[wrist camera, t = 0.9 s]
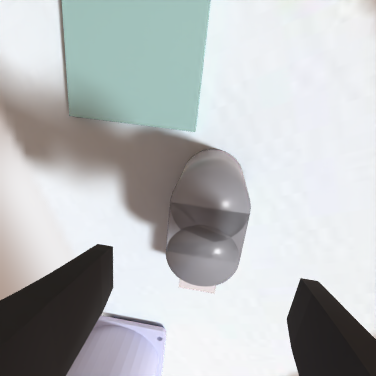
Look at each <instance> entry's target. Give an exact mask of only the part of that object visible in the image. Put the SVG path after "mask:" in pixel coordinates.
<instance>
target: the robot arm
mask: <svg viewBox="0 0 376 376" xmlns="http://www.w3.org/2000/svg"><path fill="white" fill-rule="evenodd" d="M112 289H113V247H112V246H106V245H100V244H97V245H95V246H94V247H92V248H90V249H89V250H87V251H86V252H84V253H82V254H81V255H79V256H78V257H76V258H74V259H73V260H71V261H70V262H68V263H66V264H65V265H63V266H62V267H60V268H58V269H56V270H55V271H53V272H52V273H50V274H48V275H46V276H45V277H43V278H41V279H39V280H38V281H36V282H34V283H32V284H30V285H29V286H27V287H25V288H23V289H21V290H20V291H18V292H16V293H14V294H12V295H10V296H8V297H6V298H4V299H2V300H0V376H162V369H163V360H164V350H165V340H166V330H165V329H164V328H163V327H159V326H154V325H148V324H143V323H138V322H133V321H127V320H122V319H117V318H112V317H106V316H101V314H102V312H103V310H104V307H105V305H106V303H107V301H108V298H109V296H110V294H111V291H112ZM287 324H288V331H289V337H290V343H291V348H292V352H293V356H294V359H295V363H296V366H297V370H298V373H299V376H376V339H375V338H374V337H373V336H372V335H371V334H370V333H369V332H368V331H367V330H366V329H365V328H364V327H363V326H362V325H361V324H360V323H359V322H358V321H357V320H356V319H355V318H354V317H353V316H352V315H351V314H350V313H349V312H348V311H347V310H346V309H345V308H344V307H343V306H342V305H341V304H340V303H339V302H338V301H337V300H336V299H335V298H334V297H333V296H332V295H331V294H330V293H329V292H328V291H327V290H326V289H325V288H324V287H323V286H322V285H321V284H320V283H319V282H318V281H314V280H308V279H302V278H301V279H300V282H299V285H298V288H297V291H296V293H295V296H294V299H293V302H292V305H291V308H290V311H289V314H288V317H287Z"/></svg>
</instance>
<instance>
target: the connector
mask: <svg viewBox="0 0 376 376" xmlns="http://www.w3.org/2000/svg"><path fill="white" fill-rule="evenodd" d="M250 209H251V204H250V198H249V195H248V191H247V187H246V183H245V179H244V175H243V171H242V168H241V166H240V164H239V163H238V161H237V160H236V159H235V158H234V157H233V156H232V155H230V154H229V153H227V152H225V151H222V150H217V149H209V150H204V151H201V152H199V153H197V154H196V155H194V156H193V157H192V158H191V159H190V160H189V161H188V163H187V164H186V166H185V168H184V170H183V172H182V174H181V176H180V178H179V180H178V183H177V185H176V187H175V189H174V191H173V193H172V196H171V201H170V212H169V223H168V235H167V246H166V259H167V262H168V265H169V267H170V268H171V270H172V271H173V273H174V274H175V275H176V276H177V277H179V278H180V280H179V287H180V288H186V289H191V290H197V291H203V292H208V293H214V294H215V288H216V285H218V284H221V283H223V282H225V281H227V280H228V279H229V278H230V277H231V276H232V275H233V274H234V273H235V271H236V270H237V268H238V265H239V261H240V256H241V252H242V247H243V243H244V238H245V234H246V229H247V225H248V220H249V215H250Z"/></svg>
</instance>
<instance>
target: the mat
mask: <svg viewBox="0 0 376 376" xmlns="http://www.w3.org/2000/svg"><path fill="white" fill-rule="evenodd" d="M210 1H211V0H62V13H63V28H64V43H65V58H66V73H67V88H68V102H69V116H73V117H81V118H89V119H97V120H104V121H112V122H120V123H128V124H136V125H144V126H151V127H159V128H167V129H175V130H183V131H191V132H195V131H196V123H197V114H198V105H199V97H200V88H201V79H202V71H203V62H204V53H205V45H206V36H207V27H208V19H209V10H210Z"/></svg>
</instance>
